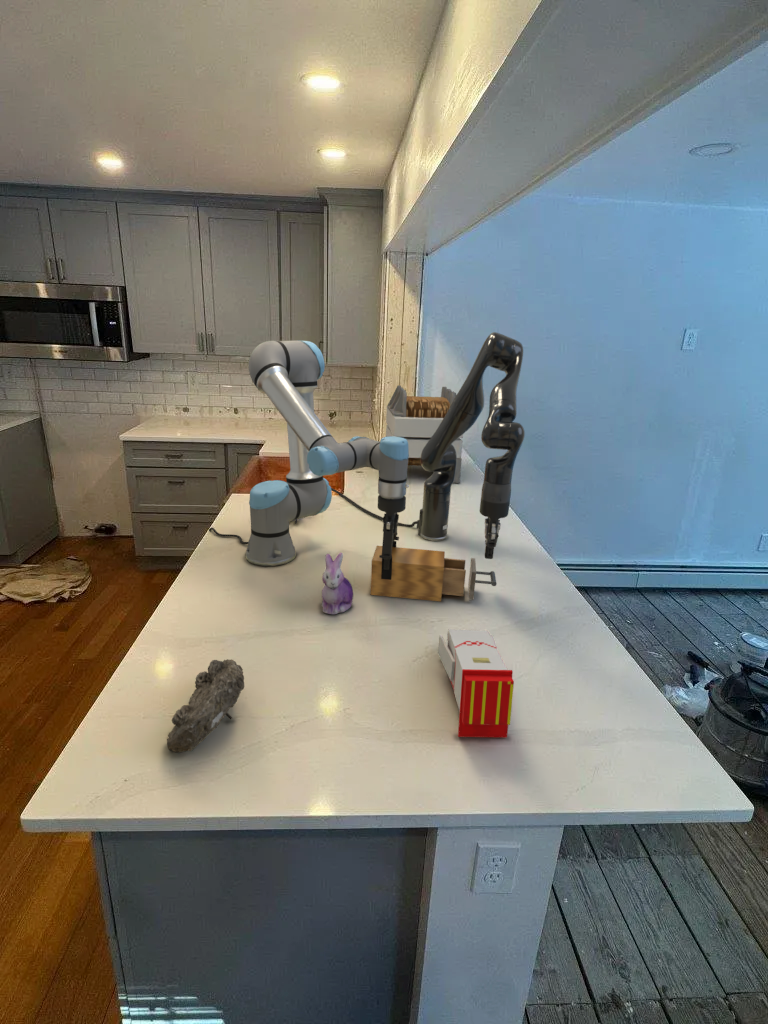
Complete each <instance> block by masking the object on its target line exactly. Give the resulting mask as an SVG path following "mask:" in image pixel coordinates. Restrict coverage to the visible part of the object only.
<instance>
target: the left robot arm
mask: <svg viewBox="0 0 768 1024" xmlns="http://www.w3.org/2000/svg"><path fill="white" fill-rule="evenodd" d="M325 365H326V363H325V358H324V356H323V353H322V351H321V349H320V348H319V346H317V345H316V343H314V342H312V341H309V340H300V339H297V340H266V341H263V342H261V343H260V344H258V345H257V346H256V347H254V349H253V350H252V352H251V353H250V356H249V360H248V373H249V376H250V379H251V381H252V383H253V385H254V386H255V388H256V389H257V391H258V392H260V393H261V394H264V395H266V396H267V397H268V399H269V400H270V402H271V403H272V405H273V406H274V407H275V409H276V410H277V411H278V413H279V414H280V415H281V417H282V418H283V419H284V421H285V422H286V429H287V441H288V443H287V444H288V456H289V467H290V470H289V472H288V473H286V475H285V480H286V481H284V480H280V479H274V480H266V481H262V482H259V483H257V484H255V485H253V487H252V488H251V489H250V491H249V501H248V504H249V516H250V517H249V519H250V536H249V539H248V541H244V540H243V539H242V536H240V535H238V534H224V533H220V532H218V531H217V530H216V529H215V528H214V527H209V529H208V531H213V532H214V534H216V535H217V536H219V537H224V538H225V537H228V538H229V537H230V538H232V537H233V538H237V539H238V540H239V542H240V544H243V545H247V546H246V549H245V560H247V562H249V563H250V564H253V565H255V566H261V567H276V566H282V565H286V564H289V563H291V562H292V561H293V560H294V559H295V558H296V555H297V554H296V552H297V551H296V547H295V545H294V543H293V538H292V536H291V533H290V522H294V521H295V520H297V521H298V520H300V519H304V518H308V517H314V516H317V515H319V514H322V513H324V512H325V511H327V510H328V508H329V507H330V505H331V504H332V503H331V502H332V497H333V491H332V490H331V488H332V486H331V485H330V483H329V480H328V479H326V478H325V477H324V476H333V475H334V474H339V473H343V472H347V471H353V470H357V469H363V468H370V469H372V470H376V471H378V480H377V494H378V495H377V509H378V510H379V511H380V512H384V514H383V516H382V517H383V520H382V533H383V534H382V545H381V546H382V555H380V556H379V558H382V572H381V579H387V580H391V576H392V548H393V547H397V541H398V542H399V541H400V537H399V536H398V526H399V525H398V523H399V519H400V514H399V513H402V512H404V511H405V510H406V506H407V505H406V504H407V503H406V502H407V497H406V495H407V489H408V488H409V487H410V485H409V484H408V483H407V481H408V457H409V453H408V441H407V440H406V439H405V438H402V437H395V436H388V437H386V436H383V437H382V438H381V439H380V441H379V440H375V439H372V438H369V437H367V436H358V435H355V436H353V437H352V438H350V439H349V440H347V441H345V442H344V441H343V442H338V441H337V440H336V439H335V437H334V436H333V435H332V434H331V432H330V431H329V430H328V429H327V427H326V426H325V425H324V423H323V422H322V421H321V419H320V418H319V417H318V416H317V415H316V413H315V402H314V400H315V399H314V391H315V390H316V389H317V388H318V380H320V379H321V378H322V377H323V376H324V375H323V374H324V372H325V367H326V366H325Z"/></svg>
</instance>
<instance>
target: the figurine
mask: <svg viewBox="0 0 768 1024" xmlns="http://www.w3.org/2000/svg"><path fill="white" fill-rule="evenodd" d="M343 557H344V553H343V552H339V553H337V556H336V557H335V558H334V559H333V558H332V556H331V554H330V553H326V555H325V558H324V560H325V562H324V563H325V568H324V571H323V573H322V577H321V578H322V579H321V580H322V583H323V587H322V590H321V599H322V603H321V607H322V612H323V613H325V614H329V615H337V614H339V613H344V612H347V611H348V610H350V608H351V607H352V606H353V599H354V590H353V585H352V584H351V582H350V580H349V579H348V578H346V577H345V575H344V572H343V570H342V568H341V565H342V562H343Z"/></svg>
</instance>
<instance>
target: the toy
mask: <svg viewBox="0 0 768 1024" xmlns="http://www.w3.org/2000/svg"><path fill="white" fill-rule="evenodd" d="M446 640H447V643H446V641H445V639H444V636H443V635H442V634H439V637H438V646H437V656H438V657H439V659H440V661H441V663H442V666H443V668H444V670H445V672H446V674H447V677H448V679H449V681H450V684H451V687H452V690H453V693H454V697H455V701H456V705H457V708H458V711H459V714H458V715H459V716H458V730H457V731H458V732H457V737H458V738H508V731H509V726H510V725H511V717H512V707H513V697H514V696H513V695H514V684H515V680H514V679H513V673H514V671H513V670H512V669H508V667H507V665H506V662H505V661H504V659H503V658H502V655H501V653H500V651H499V649H498V647H497V643H496V639H495V637H494V635H493V634H491V632H490V631H489V629H467V628H466V629H465V628H463V629H461V628H460V629H459V628H448V630H447V639H446Z"/></svg>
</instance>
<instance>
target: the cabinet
mask: <svg viewBox="0 0 768 1024" xmlns="http://www.w3.org/2000/svg"><path fill="white" fill-rule="evenodd" d="M374 549H375V550H374V553H373V556H372V559H371V568H370V569H371V570H370V571H371V572H370V596H379V597H380V596H381V597H391V598H400V599H401V598H402V599H412V600H423V601H432V602H442V596H443V594H442V585H443V574H444V558H446V557H445V555H446V552H445V551H443V550H433V549H432V550H431V549H420V548H409V547H397V546H396V547H393V548H392V576H391V580H387V579H381V572H382V558H379V556H380V555H382V545H376V547H375V548H374Z"/></svg>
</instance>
